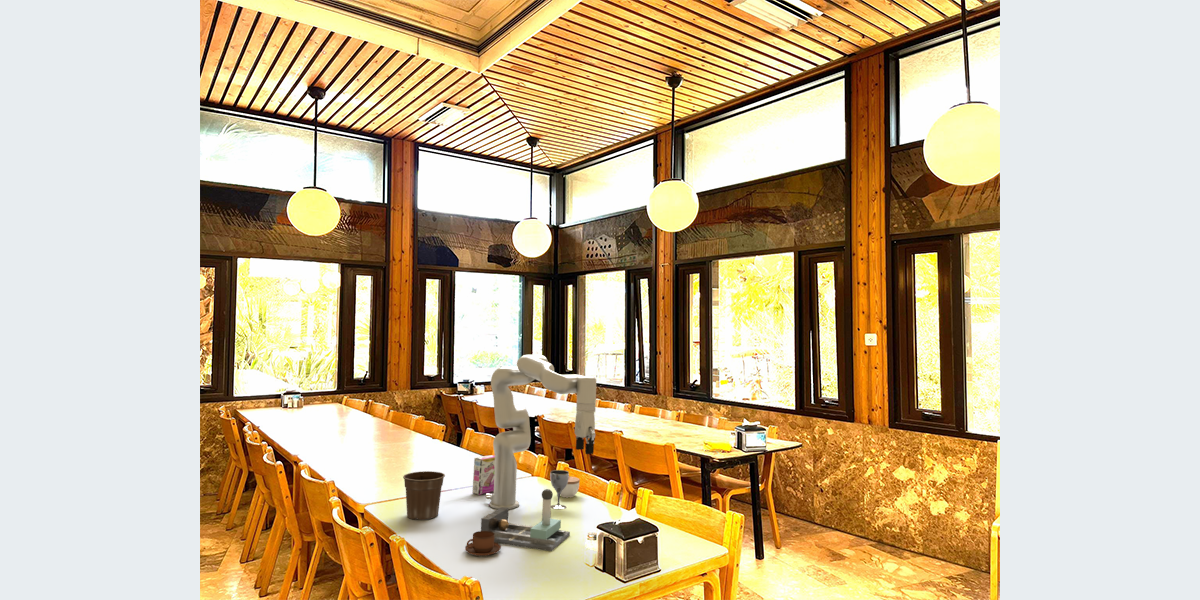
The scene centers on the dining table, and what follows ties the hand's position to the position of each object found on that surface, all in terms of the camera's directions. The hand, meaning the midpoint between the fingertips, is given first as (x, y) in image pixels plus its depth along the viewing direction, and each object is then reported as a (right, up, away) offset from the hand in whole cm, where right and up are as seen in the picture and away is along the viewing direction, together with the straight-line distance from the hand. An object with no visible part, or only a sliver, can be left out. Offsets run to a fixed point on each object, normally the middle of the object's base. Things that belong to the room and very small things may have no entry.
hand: (584, 451), depth 244 cm
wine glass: (-12, -30, +25) cm, 41 cm away
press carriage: (-14, -25, -19) cm, 34 cm away
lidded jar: (-9, -32, +44) cm, 55 cm away
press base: (-21, -28, -17) cm, 39 cm away
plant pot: (-66, -28, +6) cm, 71 cm away
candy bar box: (-48, -30, +45) cm, 72 cm away
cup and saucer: (-34, -27, -33) cm, 54 cm away
